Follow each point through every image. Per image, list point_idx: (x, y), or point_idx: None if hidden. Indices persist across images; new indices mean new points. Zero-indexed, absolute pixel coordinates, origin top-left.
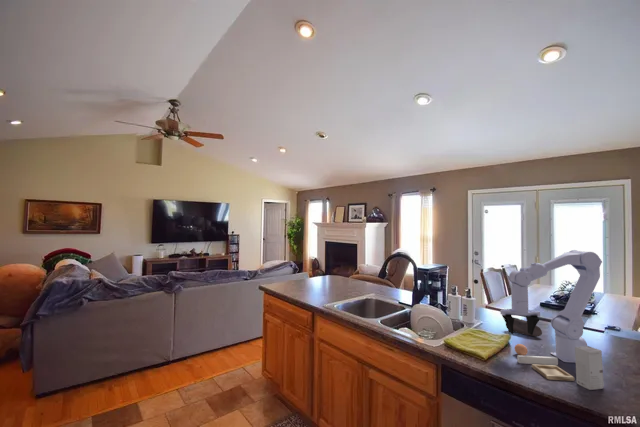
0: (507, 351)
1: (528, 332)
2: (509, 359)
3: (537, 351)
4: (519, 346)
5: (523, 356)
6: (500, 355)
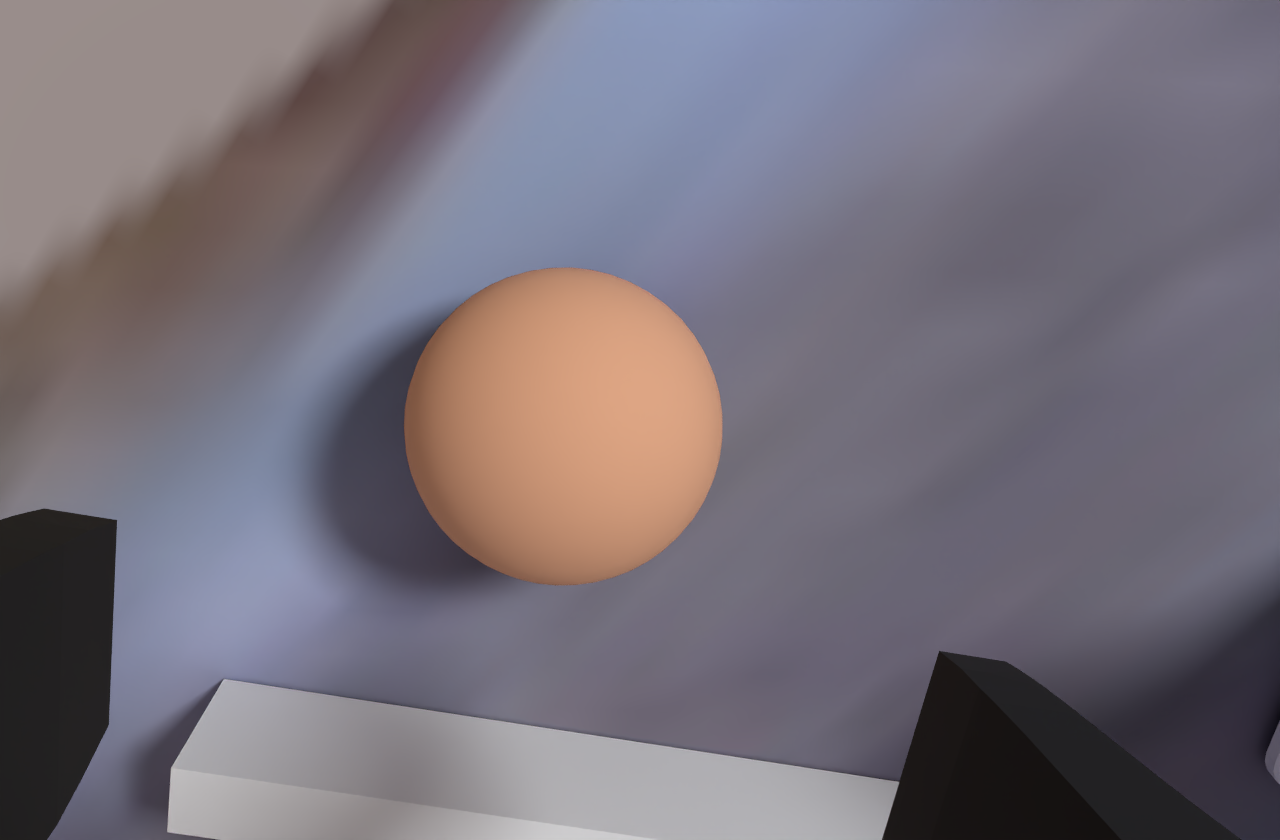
0: (362, 126)
1: (933, 702)
2: None
3: (1241, 178)
4: (463, 523)
5: (283, 832)
6: (7, 356)
